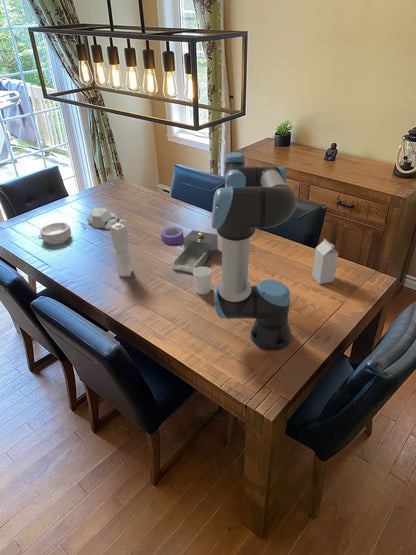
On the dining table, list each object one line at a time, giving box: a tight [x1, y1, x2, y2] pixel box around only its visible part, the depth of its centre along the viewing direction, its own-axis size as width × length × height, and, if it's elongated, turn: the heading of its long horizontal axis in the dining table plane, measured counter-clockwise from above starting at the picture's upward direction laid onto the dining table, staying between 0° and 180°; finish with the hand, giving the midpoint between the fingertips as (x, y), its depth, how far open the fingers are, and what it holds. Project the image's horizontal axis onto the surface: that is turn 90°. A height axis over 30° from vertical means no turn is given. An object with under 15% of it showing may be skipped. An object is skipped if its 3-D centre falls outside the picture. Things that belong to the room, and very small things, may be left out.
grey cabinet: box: [171, 229, 219, 275], centre depth 203 cm, size 26×14×11 cm, turn 157°
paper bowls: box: [39, 221, 72, 245], centre depth 224 cm, size 15×15×8 cm
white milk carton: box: [311, 238, 339, 285], centre depth 184 cm, size 7×7×19 cm
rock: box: [86, 207, 119, 231], centre depth 238 cm, size 18×20×10 cm
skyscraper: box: [109, 219, 133, 277], centre depth 190 cm, size 8×8×28 cm
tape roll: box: [160, 226, 185, 245], centre depth 223 cm, size 12×12×5 cm
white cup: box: [192, 266, 212, 295], centre depth 182 cm, size 8×8×10 cm
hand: (234, 238), depth 180 cm, fingers open, 13 cm apart
